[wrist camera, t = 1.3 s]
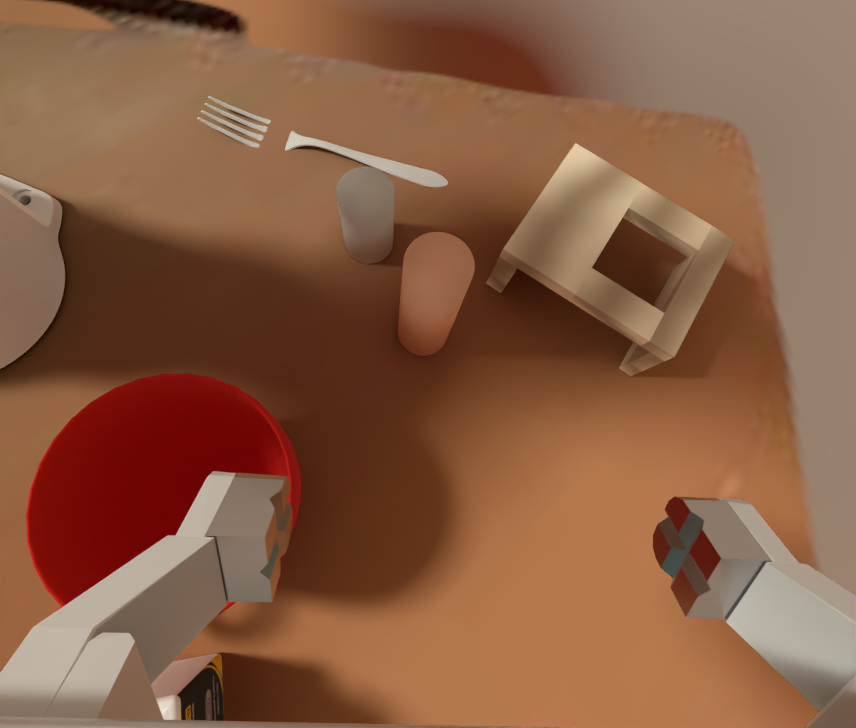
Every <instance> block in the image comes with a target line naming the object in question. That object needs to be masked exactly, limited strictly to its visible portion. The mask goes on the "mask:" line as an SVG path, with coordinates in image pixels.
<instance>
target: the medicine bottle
mask: <svg viewBox="0 0 856 728" xmlns="http://www.w3.org/2000/svg"><path fill="white" fill-rule="evenodd" d="M151 687H152V689H153V692H154V695H155V697H156V700H157V703H158V705H159V708H160V711H161V714H162V716H163V719H164V720H208V721H224V699H223V678H222V657H221V655H220V654H218V653H215V654H210V655H204V656H199V657H194V658H189V659H183V660H178V661H173V662H172V663H171V664H170V665H169V666H168V667H167V668H166V669H165V670H164V671H163V672H162V673H161V674H160V675H159V676H158V677H157V678H156V680H155V681H154V682H153V683H152V684H151Z"/></svg>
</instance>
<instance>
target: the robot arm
mask: <svg viewBox="0 0 856 728" xmlns="http://www.w3.org/2000/svg"><path fill="white" fill-rule="evenodd" d="M29 201H31V202H30V203H29V204H27V203H28V202H29ZM26 204H27V205H26ZM61 220H62V206H61V204H60V203H59V201H57V200H56V199H54V198H53V197H52V196H50V195H49V194H47V193H45V192H42V191H40V190H38V189H35V188H33V187H30V186H28V185H26V184H23V183H21V182H18V181H16V180H13V179H11V178H9V177H6V176H4V175H1V174H0V369H1V368H3V367H5V366H6V365H8V364H10V363H11V362H13V361H14V360H16V359H17V358H19V357H20V356H21V355H22V354H24V353H25V352H26V351H27V350H28V349H30V348H31V347H32V346H33V345H34V344H35V343H36V342H37V341H38V339H39V338H40V337H41V336H42V335H43V334H44V332H45V331H46V330H47V328H48V327H49V325H50V324H51V322H52V320H53V319H54V317H55V315H56V313H57V311H58V308H59V306H60V303H61V300H62V296H63V292H64V286H65V267H64V261H63V257H62V254H61V250H60V247H59V242H58V234H59V229H60V225H61ZM290 491H291V488H290V479H289V477H287V476H276V475H263V474H250V473H230V472H218V471H213V472H212V473H211V474H210V475H209V476H208V477H207V478H206V480H205V482H204V484H203V486H202V488H201V489H200V491H199V493H198V495H197V497H196V499H195V500H194V502H193V504H192V506H191V508H190V510H189V512H188V513H187V515H186V517H185V519H184V521H183V523H182V525H181V526H180V528H179V530H178V532H177V534H176V536H174V535H167V536H166V537H164V538H163V539H161V540H160V541H159V542H157V543H156V544H154V545H153V546H151V547H150V548H148V549H147V550H145V551H144V552H142V553H141V554H140V555H138V556H137V557H135V558H134V559H132V560H131V561H129V562H128V563H126V564H125V565H123V566H122V567H120V568H119V569H118V570H116V571H115V572H113V573H112V574H110V575H109V576H107V577H106V578H104V579H103V580H101V581H100V582H99V583H97V584H96V585H94V586H93V587H91V588H90V589H88V590H87V591H85V592H84V593H82V594H81V595H80V596H78V597H77V598H75V599H74V600H72V601H71V602H69V603H68V604H66V605H65V606H63V607H62V608H60V609H59V610H58V611H56V612H55V613H53V614H52V615H50V616H49V617H47V618H46V619H44V620H43V621H41V622H40V623H39V624H37V625H36V626H34V627H33V628H32V629H31V631H30V632H29V634H28V635H27V636H26V638H25V639H24V641H23V642H22V643H21V645H20V646H19V648H18V649H17V650H16V652H15V653H14V655H13V656H12V657H11V659H10V660H9V662H8V663H7V664H6V666H5V667H4V669H3V670H2V671H1V673H0V728H558V727H508V726H457V725H407V724H357V723H307V722H258V721H208V720H164V719H163V716H162V714H161V711H160V708H159V705H158V703H157V700H156V697H155V695H154V692H153V689H152V687H151V684H152V683H153V682H154V681H155V680H156V678H157V677H158V676H159V675H160V674H161V673H162V672H163V671H164V670H165V669H166V668H167V667H168V666H169V665H170V664H171V663H172V662H173V661H174V660H175V659H176V658H177V656H178V655H179V654H180V653H181V652H182V651H183V650H184V649H185V648H186V647H187V646H188V645H189V644H190V643H191V642H192V641H193V640H194V639H195V638H196V637H197V636H198V635H199V633H200V632H201V631H202V630H203V629H204V628H205V627H206V626H207V625H208V624H209V623H210V622H211V621H212V620H213V619H214V618H215V617H216V616H217V615H218V614H219V613H220V612H221V610H222V609H223V608H224V607H225V606H226V605H227V602H272V601H273V598H274V594H275V591H276V587H277V584H278V580H279V577H280V573H281V567H280V557H281V556H283V555H284V554H285V553H286V552H287V548H288V544H289V540H290V534H291V528H292V505H291V504H290V503H289V502H288V498H289V494H290ZM665 511H666V513H667V516H668V517H667V518H665V519H664V520H663V521H661V522H660V523H658V524H657V527H656V529H655V532H654V534H653V549H654V553H655V557H656V559H657V561H658V563H659V565H660V568H661V569H662V570H664V571H665V572H666V573H667V574H668V575H670V576H671V577H672V578H673V579H672V583H671V589H672V591H673V593H674V595H675V597H676V599H677V601H678V603H679V605H680V607H681V609H682V611H683V613H684V614H685V616H686V617H691V618H706V619H721V620H727V621H726V623H728V624H729V625H730V626H731V627H732V628H733V629H734V630H735V631H736V632H737V633H738V634H739V635H740V636H741V637H742V638H743V639H744V640H745V641H746V642H747V643H748V644H749V645H750V646H751V647H753V648H754V649H755V650H756V651H757V652H758V653H759V654H760V655H761V656H762V657H763V658H764V659H765V660H766V661H767V662H768V663H769V664H770V665H771V666H772V667H773V668H774V669H775V670H776V671H777V672H779V673H780V674H781V675H782V676H783V677H784V678H785V679H786V680H787V681H788V682H789V683H790V684H791V685H792V686H793V687H794V688H795V689H796V690H797V691H798V692H799V693H800V694H801V695H802V696H804V697H805V698H806V699H807V700H808V701H809V702H810V703H811V704H812V705H813V706H814V707H815V708H816V709H817V710H818V711H819V712H818V713H817V714H816V715H815V716H814V717H813V718H812V719H811V720H810V721H809V722H808V723H807V724H806V726H805V728H856V595H854V594H852V593H851V592H849V591H848V590H846V589H845V588H843V587H842V586H840V585H838V584H837V583H835V582H834V581H832V580H831V579H829V578H828V577H826V576H825V575H823V574H821V573H820V572H818V571H817V570H815V569H814V568H812V567H811V566H809V565H807V564H803V563H798V561H797V560H796V559H795V558H794V557H793V555H792V554H791V553H790V552H789V550H788V549H787V548H786V547H785V545H784V544H783V543H782V542H781V540H780V539H779V538H778V537H777V535H776V534H775V533H774V532H773V531H772V529H771V528H770V527H769V526H768V524H767V523H766V522H765V521H764V519H763V518H762V517H761V516H760V514H759V513H758V512H757V511H756V510H755V508H754V507H753V506H752V505H751V504H750V503H749V502H747V501H745V500H744V499H722V498H721V499H717V498H697V497H673V498H672V499H671V500H669V502H668V504H667V506H666V508H665Z"/></svg>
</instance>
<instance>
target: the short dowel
mask: <svg viewBox="0 0 856 728" xmlns="http://www.w3.org/2000/svg"><path fill="white" fill-rule="evenodd" d="M336 194H337V201H338V207H339V213H340V219H341V225H342V231H343V237H344V243H345V248H346V250H347V252H348V254H349V255H350V256H351V257H352V258H353V259H355V260H356V261H358V262H361V263H365V264H374V263H378V262H380V261H382V260H384V259H385V258H386V257H387V256H388V255H389V254H390V252H391V250H392V247H393V229H394V199H395V190H394V186H393V183H392V181H391V180H390V178H389V177H388V176H387V175H386V174H385V173H384V172H382V171H380V170H378V169H376V168H373V167H357V168H353V169H351V170H349V171H348V172H346V173H345V174H344V175H343V176H342V177H341V178H340V180H339V182H338V184H337V188H336Z"/></svg>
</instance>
